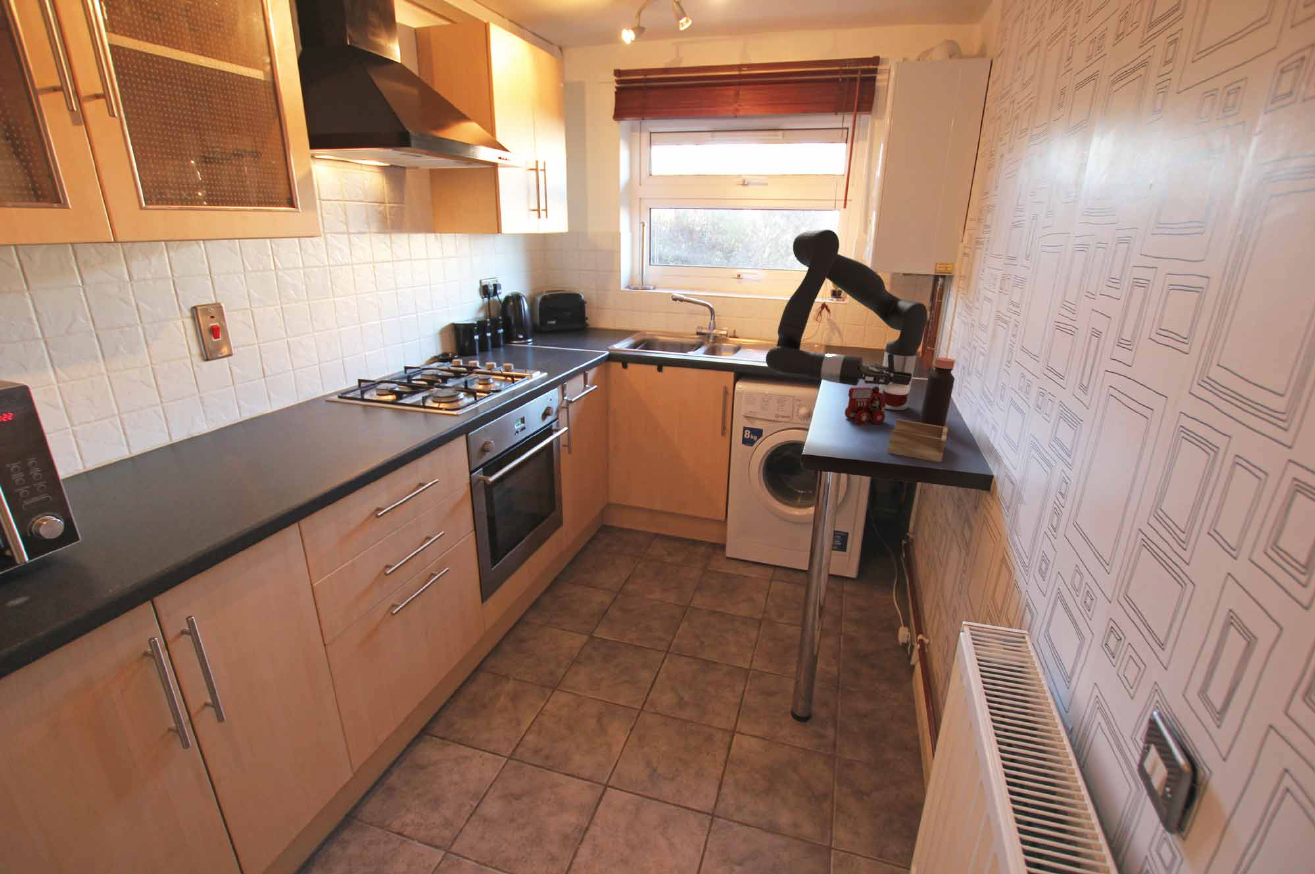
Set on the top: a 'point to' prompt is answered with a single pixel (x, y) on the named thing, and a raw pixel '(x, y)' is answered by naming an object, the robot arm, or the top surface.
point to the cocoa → (894, 389)
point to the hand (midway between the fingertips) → (910, 379)
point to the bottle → (938, 393)
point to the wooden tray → (918, 440)
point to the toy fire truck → (865, 405)
